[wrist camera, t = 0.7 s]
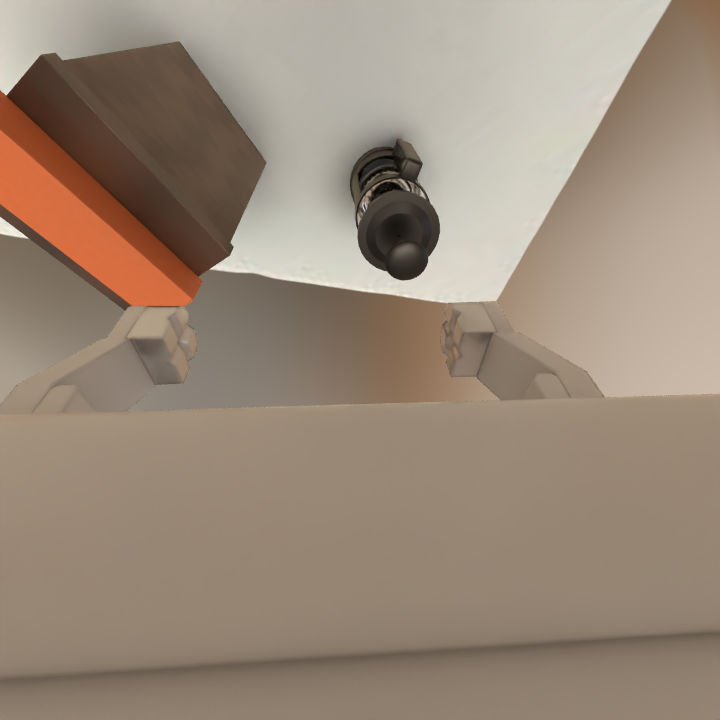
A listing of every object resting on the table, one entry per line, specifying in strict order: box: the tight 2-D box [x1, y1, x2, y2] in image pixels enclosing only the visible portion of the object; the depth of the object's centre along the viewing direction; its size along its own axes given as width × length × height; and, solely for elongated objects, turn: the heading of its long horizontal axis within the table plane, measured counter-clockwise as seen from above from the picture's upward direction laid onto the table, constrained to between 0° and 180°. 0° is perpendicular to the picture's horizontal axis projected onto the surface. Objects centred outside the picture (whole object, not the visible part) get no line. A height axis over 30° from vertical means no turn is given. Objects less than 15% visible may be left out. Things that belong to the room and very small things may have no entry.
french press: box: [350, 139, 440, 280], centre depth 43 cm, size 12×9×23 cm
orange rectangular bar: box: [0, 91, 202, 307], centre depth 24 cm, size 25×4×3 cm, turn 31°
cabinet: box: [0, 42, 266, 311], centre depth 37 cm, size 15×13×26 cm
